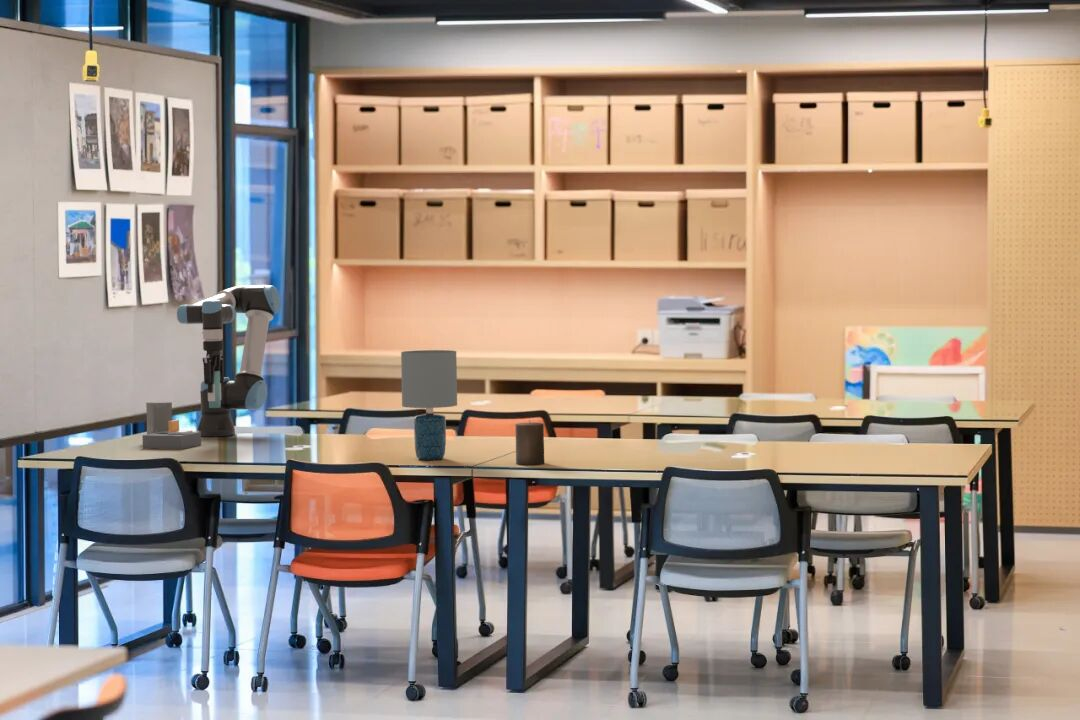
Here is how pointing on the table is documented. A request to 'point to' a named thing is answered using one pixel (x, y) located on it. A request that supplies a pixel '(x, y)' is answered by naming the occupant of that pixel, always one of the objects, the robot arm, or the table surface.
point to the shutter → (176, 428)
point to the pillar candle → (529, 443)
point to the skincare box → (158, 416)
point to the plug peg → (216, 391)
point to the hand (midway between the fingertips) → (214, 400)
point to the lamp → (429, 396)
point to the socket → (171, 440)
